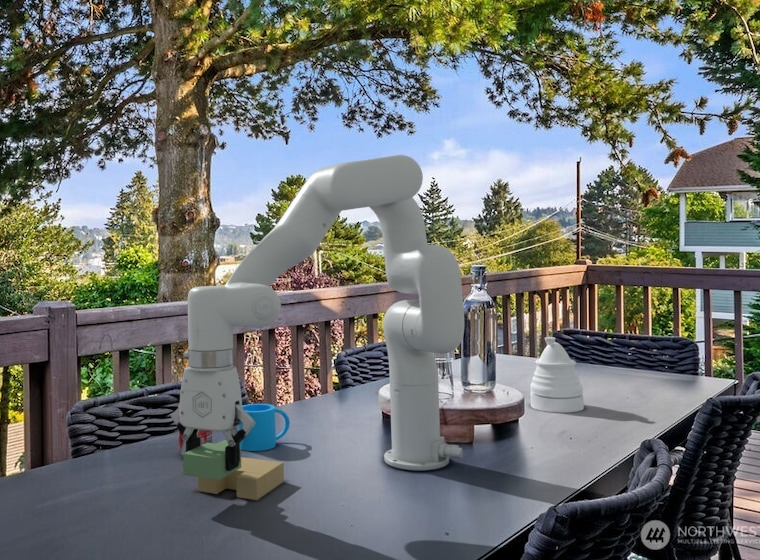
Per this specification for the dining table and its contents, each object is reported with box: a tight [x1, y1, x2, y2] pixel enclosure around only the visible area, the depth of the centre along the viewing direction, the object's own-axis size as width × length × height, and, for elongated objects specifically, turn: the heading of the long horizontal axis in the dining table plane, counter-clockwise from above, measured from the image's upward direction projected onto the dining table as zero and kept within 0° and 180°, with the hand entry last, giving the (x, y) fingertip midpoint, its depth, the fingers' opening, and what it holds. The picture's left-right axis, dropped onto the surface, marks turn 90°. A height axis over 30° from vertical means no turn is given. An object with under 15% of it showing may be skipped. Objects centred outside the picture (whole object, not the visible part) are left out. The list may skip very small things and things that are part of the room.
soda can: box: [177, 403, 213, 456], centre depth 140 cm, size 7×7×12 cm
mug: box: [237, 403, 291, 452], centre depth 146 cm, size 12×8×8 cm
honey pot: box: [529, 336, 585, 414], centre depth 174 cm, size 13×13×18 cm
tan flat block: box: [197, 456, 285, 501], centre depth 120 cm, size 12×10×4 cm
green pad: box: [182, 439, 242, 480], centre depth 113 cm, size 7×10×4 cm
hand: (212, 465), depth 112 cm, fingers closed on green pad, 7 cm apart
